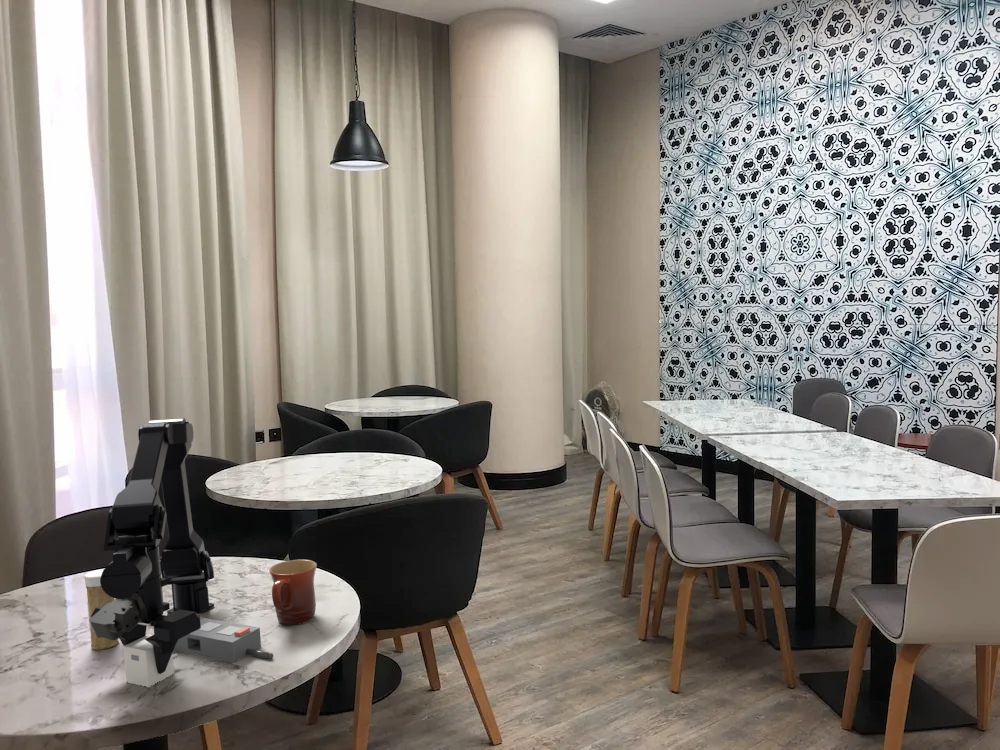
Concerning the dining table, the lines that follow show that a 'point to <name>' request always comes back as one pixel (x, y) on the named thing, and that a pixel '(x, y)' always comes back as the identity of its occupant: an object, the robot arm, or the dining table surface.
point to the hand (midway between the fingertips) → (149, 670)
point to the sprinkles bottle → (95, 600)
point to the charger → (144, 663)
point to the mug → (294, 591)
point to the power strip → (223, 641)
